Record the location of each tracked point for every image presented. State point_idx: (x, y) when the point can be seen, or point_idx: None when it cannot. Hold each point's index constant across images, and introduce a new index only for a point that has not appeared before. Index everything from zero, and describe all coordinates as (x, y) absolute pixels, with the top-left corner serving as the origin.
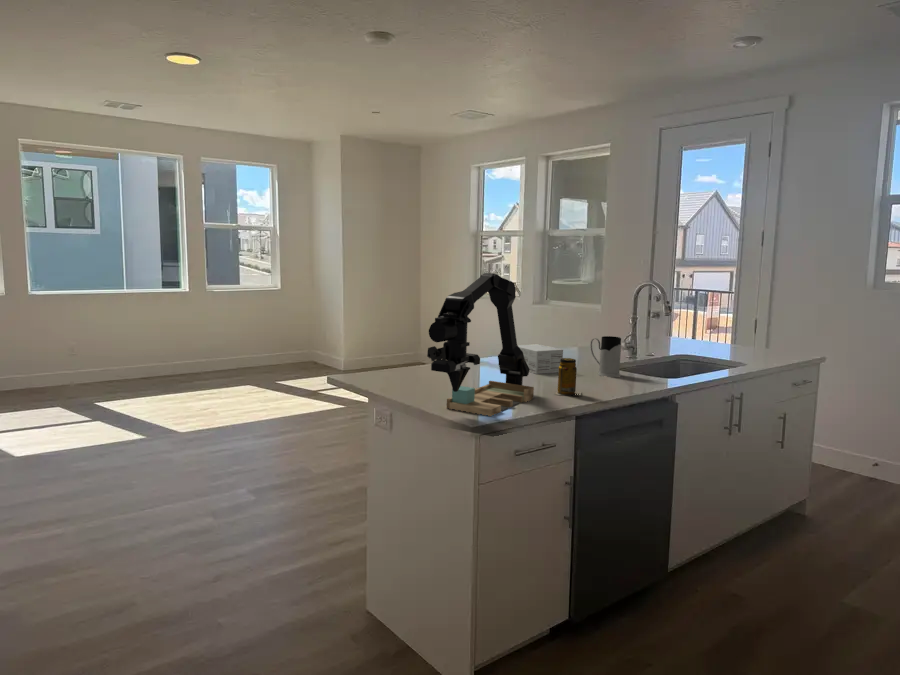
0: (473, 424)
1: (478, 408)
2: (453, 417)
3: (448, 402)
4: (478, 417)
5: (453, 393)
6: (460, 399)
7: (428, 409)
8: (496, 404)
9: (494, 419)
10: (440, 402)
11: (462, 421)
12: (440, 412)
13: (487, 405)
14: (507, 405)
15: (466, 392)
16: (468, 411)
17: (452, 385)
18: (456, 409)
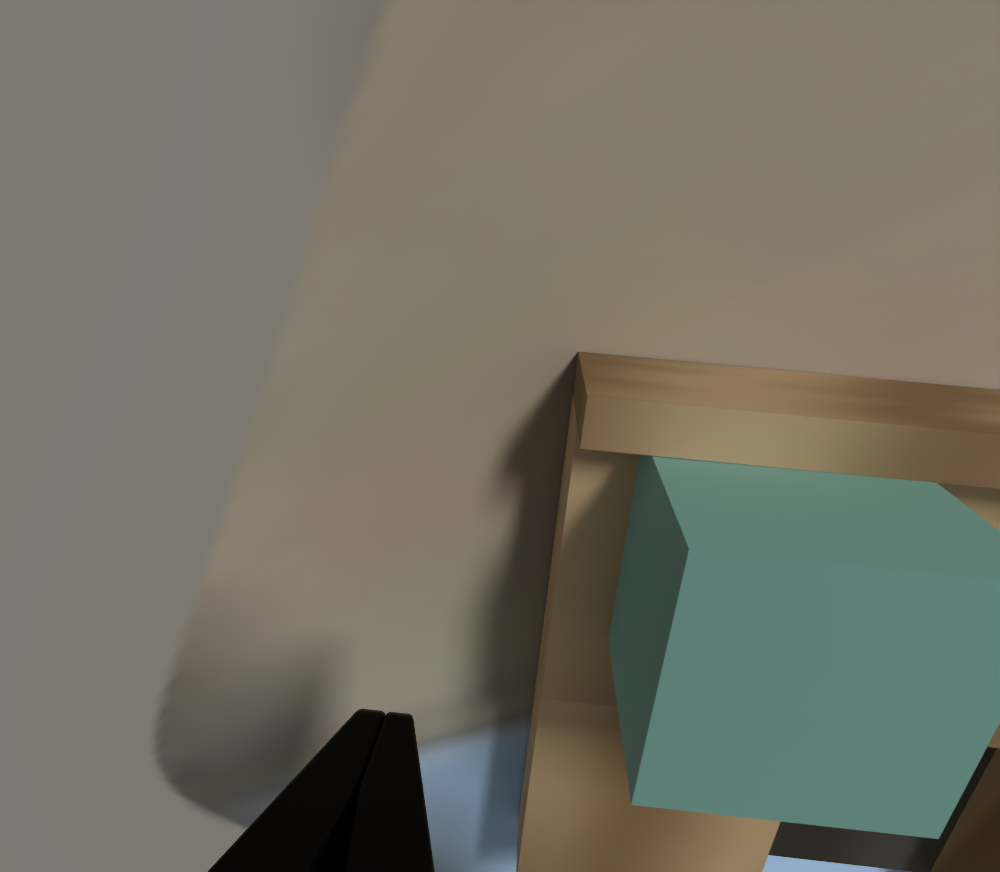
0: (194, 780)
1: (530, 772)
2: (265, 578)
3: (578, 408)
4: (423, 751)
5: (663, 525)
6: (626, 596)
7: (388, 147)
8: (988, 769)
9: (446, 856)
10: (915, 79)
11: (205, 689)
12: (353, 372)
13: (671, 824)
14: (944, 869)
15: (628, 777)
16: (543, 635)
17: (271, 818)
18: (560, 496)
